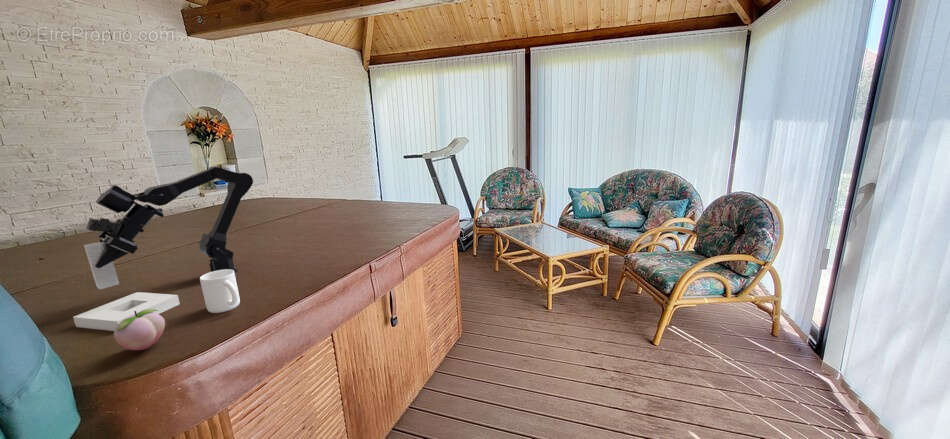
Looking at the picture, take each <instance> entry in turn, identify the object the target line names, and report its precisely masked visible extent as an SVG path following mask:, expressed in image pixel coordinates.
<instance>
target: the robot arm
mask: <svg viewBox="0 0 950 439" xmlns="http://www.w3.org/2000/svg"><path fill="white" fill-rule="evenodd" d="M214 180H220V181H223V182H225V183H227V185H226V186H227V194H226V197H225V199H224V201H223V203H222V205H221V208H220V211H219V213H218V215H217V218H216V221H215V223H214V224H213V226H212V229H211V230H210V231H209V232H208V233H202V236H201V239H200V241H198V245H199V247H198V248H199V250H200V252H201V253H202V254H203V255H206V256H207V257H208V258H209V270H210V272H213V271H217V270H224V269H231V270H234V273H236V272H237V271H238V268H235V263H234V258H233V257H234V252H233V251H232V250H229V249H228V248H226V247H227V233H228V230H229V229H230V227H231V223H232V221H233V220H234V217H235V216H236V212H237V210H238V207H239V205H240V202H241V200H242V198H243V197H244V196H245V195H246V194H247V193H248V192H249V191H250V189H251V188H252V186H253V184H254V179H253V177H252V175H250V174H249V173H246V172H236V171H232V170H230V169H229V170H228V169H225V168H222V167H221V166H210V167H209V168H207V169H205V170H202V171H199V172H196V173H193V174H191V175H189V176H187V177H184V178H182V179H179V180H177V181H174V182H170V183H164V184H159V185H155V186H150V187H148V188H145V190H144V191H143V192H138V193H134V194H132V193H130V192H128V191H126V190H124V189H123V188H121V187H120V186H119V185H116V184H113V185H112V186H111V187H110V188H108V189H106V190H105V191H104V192H102V193H101V194H100V195H99V196H98V198H97V200H96V201H95V204H98V205H100V206H102V207H104V208H106V209H108V210H110V211H112V212H114V213H116V214H119V213H121V212H122V213H126V214H125V215H124V216H123V217H122V218H118V219H116V221H111V220H110V219H109V218H103V217H101V218H88V219H89V220H88V223H87V226H86V228H85V229H87V230H89V231H91V232H99V233H98V234H97V235H96V237H98V238H97V240H98V242H102V241H105V242H106V243H104V246H105V251H104V252H103V254H102V256H101V257H100V259H99V260H98V262H97V264H96V265H95V267H97V268H101V267H103V266H105V265H107V264H109V263H110V262H112V261H113V262H114V261H116V260H118V259H120V258H122V257H124V256H126V255H129V254H132V255H134V254H135V253H136V252H137V250H138V244H136V243H135V239H136V238H137V236H138V235H139V234H140V233H143V232H144V231H145V229H144V228H145V226H147V225H148V224H149V223H150V222H151V220H152V219H153V218H154V217H155V215H156V216H157V217H160V218H164V217H165V215H164V213H163V208H160V207H161V206H165V205H168V204H169V203H171V202H172V201H174V200H175V199H177V198H178V197H179V196H180V195H182V194H183V193H186V192H188V191H190V190H193V189H195V188H198V187H200V186H202V185H205V184H207V183H209V182H212V181H214ZM136 201H137V202H136ZM138 202H140V203H138ZM141 202H142V203H146V204H144V205H143V204H141ZM152 205H154V207H153V206H152ZM155 206H157V207H159V208H156V207H155ZM107 243H108V244H107Z"/></svg>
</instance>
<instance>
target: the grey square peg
mask: <svg viewBox="0 0 950 439" xmlns="http://www.w3.org/2000/svg"><path fill="white" fill-rule="evenodd" d="M104 243H106V242H105V241H102V242H99V241H98V242H93V243H92V242H91V243H88V244H83V247H84V251H85V253H86V254H85V255H86V256H87V257H86V258H87V261H88V264H89V266H90V270H91V272H92V277H93V280H94V282H95V285H96V286H95V287H97V288H98V290H104V289H107V288H110V287H114V286H118V285H120V280H119V278H118V274H117V271H116V268H115V265H114V264H115V263H114V261H112V262H110V263H109V264H107V265H105V266H103V267H101V268H97V267H95V265H96V264H97V262H98V260H99V259H100V257H101V256H102V254H103V252H104V251H105V246H104ZM107 244H108V243H107Z"/></svg>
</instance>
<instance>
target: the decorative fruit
mask: <svg viewBox="0 0 950 439" xmlns="http://www.w3.org/2000/svg"><path fill="white" fill-rule="evenodd" d="M153 311H158V310H156V309H146V310H143V311H140V312H138V313H136V311H134V313H135V314H134V315H131V316H129V317H127V318H125V319H123V320H122V321H121V322H120V323H119V324H118V325H117V326H116V328H115V330H114V331H113V338H114V340H115V342H116V343H117V344H118V345H119V346H121V347H122V348H124V349H126V350H129V351H144V350H147V349H149V348H150V347H152V345H154V344H155V343H156V342H157V341H158V340H159V339H160V338H161V336H162V334H163V332H164V330H165V327H166V320H165V318H164V317H163V316H162V315H161V314H157V313H153Z"/></svg>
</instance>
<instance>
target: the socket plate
mask: <svg viewBox="0 0 950 439" xmlns="http://www.w3.org/2000/svg"><path fill="white" fill-rule="evenodd" d="M179 305H180V300H179V295H178V294H170V293H169V294H168V293H166V294H165V293H156V292H155V293H154V292H153V293H152V292H144V291H143V292H142V291H141V292H140V291H139V292H138V291H137V292H134V293H131V294H129V295H126V296H124V297H120V298H118V299H116V300H114V301H113V300H112V301H110V302H108V303H105V304H103V305H100V306H98V307H97V306H96V307H94V308H93V309H89V310H88V311H84V312H82V313H79V314H77V315H75V316H72V318H73V321H74V325H75V327H76V328H82V329H90V330H91V329H92V330H101V331H102V330H103V331H110V332H114V330H115V328H116V326H117V325H118V324H119V323H120V322H121V321H122V320H123V319H125V318H127V317H129V316H131V315H134V314H135V313H134V311H136V313H138V312H140V311H143V310H146V309H156V310H158V311H153V313H157V314H159V315H161V314H162V313H163V312H166V311H168V310H170V309H173V308H175V307H177V306H179Z"/></svg>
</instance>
